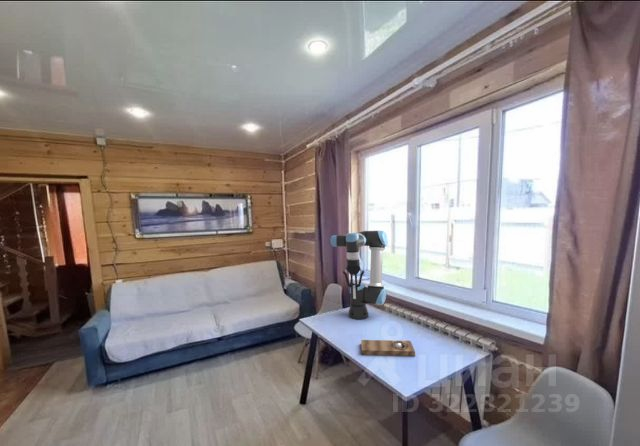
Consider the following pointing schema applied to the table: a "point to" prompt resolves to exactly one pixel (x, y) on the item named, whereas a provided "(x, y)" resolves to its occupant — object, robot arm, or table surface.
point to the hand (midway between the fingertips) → (354, 298)
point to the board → (387, 348)
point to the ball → (398, 345)
